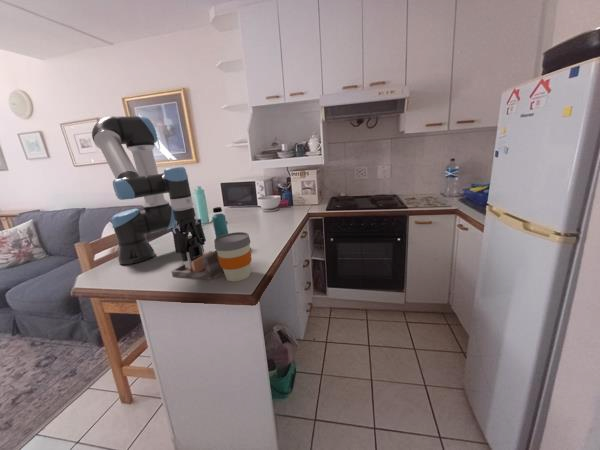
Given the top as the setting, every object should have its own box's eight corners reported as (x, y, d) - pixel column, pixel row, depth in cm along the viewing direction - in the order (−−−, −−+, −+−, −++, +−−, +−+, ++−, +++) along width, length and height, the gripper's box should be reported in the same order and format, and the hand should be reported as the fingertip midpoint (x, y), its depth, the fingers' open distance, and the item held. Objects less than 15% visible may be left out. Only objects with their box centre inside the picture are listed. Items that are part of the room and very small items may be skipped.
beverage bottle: (226, 243, 137) (219, 205, 132) (233, 245, 133) (226, 206, 127) (215, 247, 133) (207, 208, 128) (221, 249, 128) (213, 209, 123)
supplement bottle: (198, 268, 103) (192, 239, 100) (183, 268, 105) (176, 240, 102) (208, 261, 110) (202, 233, 106) (193, 261, 111) (187, 234, 108)
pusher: (193, 274, 101) (190, 262, 100) (212, 262, 111) (209, 251, 110) (196, 274, 101) (193, 262, 100) (214, 262, 111) (212, 251, 109)
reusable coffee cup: (260, 268, 102) (254, 231, 98) (247, 284, 91) (240, 243, 87) (231, 268, 105) (224, 232, 101) (214, 283, 94) (206, 243, 90)
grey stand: (172, 276, 104) (167, 255, 101) (197, 261, 116) (193, 243, 114) (211, 279, 97) (207, 258, 95) (233, 263, 109) (230, 244, 107)
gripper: (170, 214, 91) (184, 275, 97) (208, 202, 108) (218, 254, 115) (154, 215, 94) (169, 274, 100) (193, 203, 111) (204, 254, 117)
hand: (195, 263), depth 107 cm, fingers closed on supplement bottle, 7 cm apart
